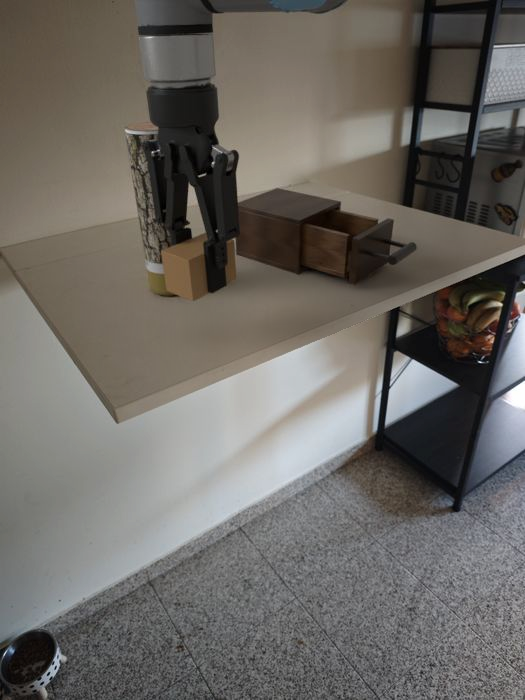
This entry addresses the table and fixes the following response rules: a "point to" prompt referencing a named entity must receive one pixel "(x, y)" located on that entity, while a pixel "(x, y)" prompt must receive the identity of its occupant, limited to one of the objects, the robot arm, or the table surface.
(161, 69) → the robot arm
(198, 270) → the small cardboard box
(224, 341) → the table surface
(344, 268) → the drawer
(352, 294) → the table surface
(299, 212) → the cabinet
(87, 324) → the table surface
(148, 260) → the paper tube
